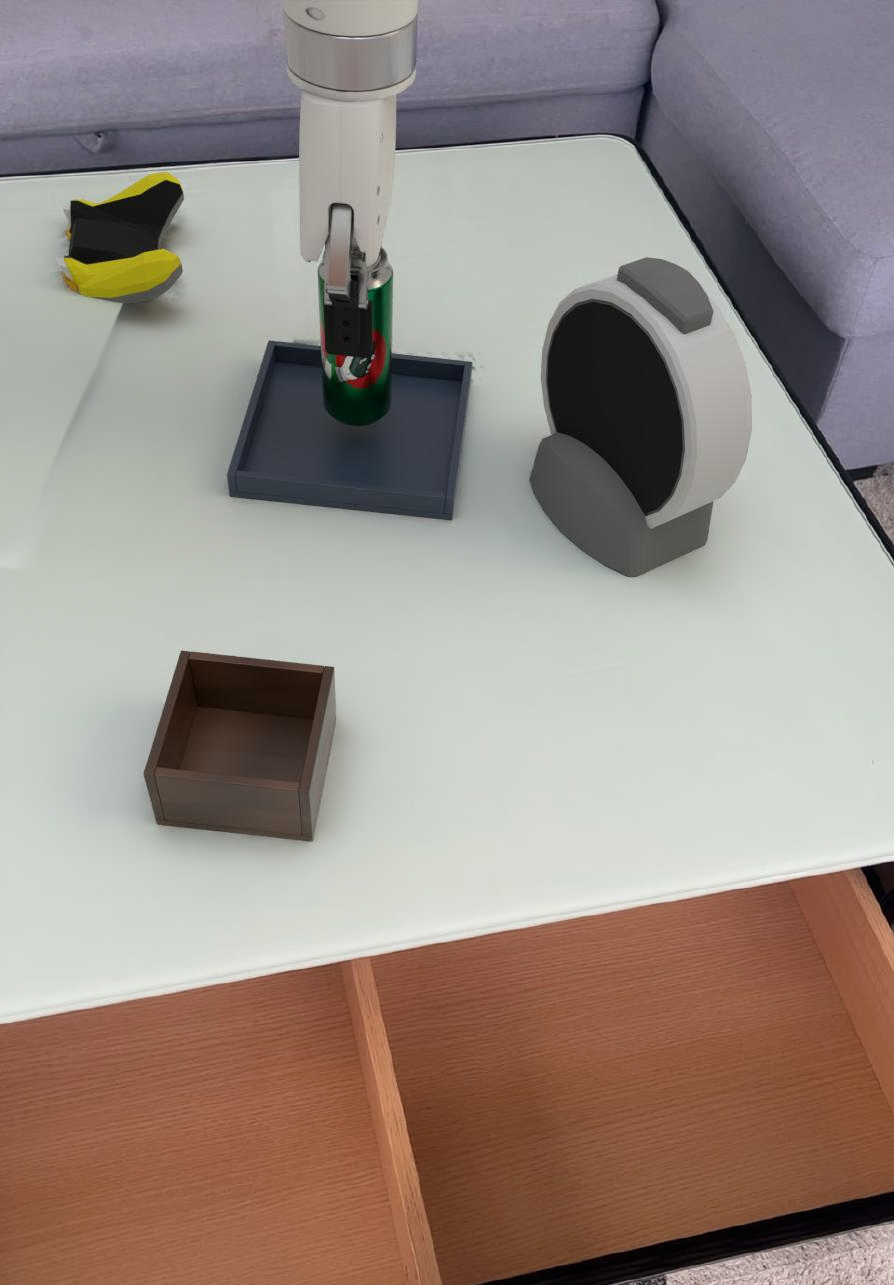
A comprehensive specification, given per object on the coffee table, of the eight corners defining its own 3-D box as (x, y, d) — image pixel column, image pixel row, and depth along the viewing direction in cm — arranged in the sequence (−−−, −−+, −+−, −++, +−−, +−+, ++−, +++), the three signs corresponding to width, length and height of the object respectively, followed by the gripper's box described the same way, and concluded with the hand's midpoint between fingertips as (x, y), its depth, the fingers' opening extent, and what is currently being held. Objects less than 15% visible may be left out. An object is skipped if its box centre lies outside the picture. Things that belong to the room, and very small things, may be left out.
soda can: (405, 409, 88) (409, 257, 78) (357, 439, 86) (355, 287, 76) (356, 379, 90) (354, 226, 80) (308, 408, 88) (300, 255, 78)
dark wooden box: (156, 824, 69) (142, 773, 65) (191, 703, 74) (180, 649, 70) (312, 841, 69) (309, 792, 65) (336, 719, 74) (334, 666, 70)
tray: (229, 496, 85) (226, 474, 84) (270, 362, 95) (268, 339, 93) (452, 520, 85) (453, 498, 83) (470, 383, 94) (472, 361, 93)
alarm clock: (497, 468, 89) (523, 234, 74) (604, 425, 92) (649, 194, 77) (631, 603, 81) (689, 373, 66) (741, 550, 85) (820, 322, 70)
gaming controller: (189, 226, 105) (74, 227, 104) (181, 164, 101) (61, 164, 100) (188, 326, 97) (62, 328, 96) (179, 263, 92) (47, 264, 91)
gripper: (310, -24, 72) (321, 256, 87) (258, 109, 63) (280, 399, 77) (431, -12, 72) (421, 266, 87) (398, 123, 63) (393, 410, 77)
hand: (355, 326), depth 82 cm, fingers closed on soda can, 5 cm apart
